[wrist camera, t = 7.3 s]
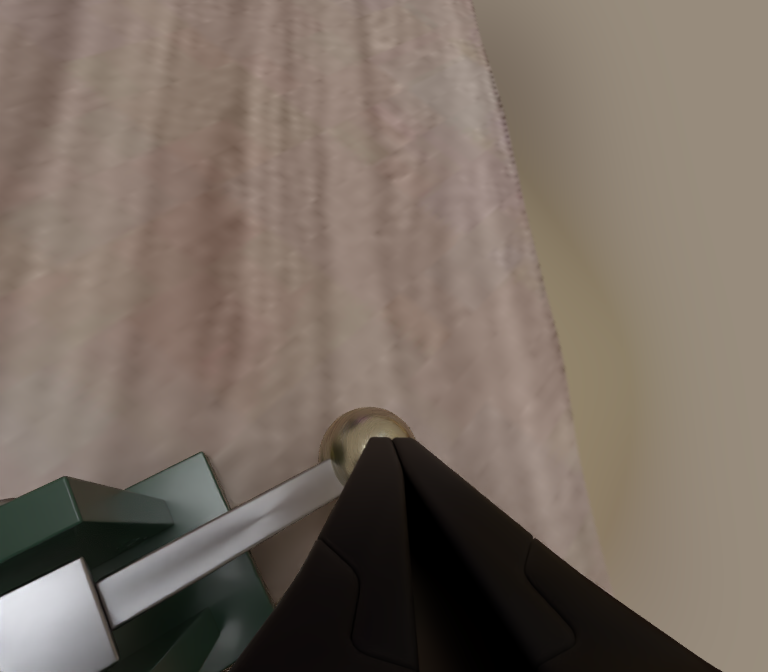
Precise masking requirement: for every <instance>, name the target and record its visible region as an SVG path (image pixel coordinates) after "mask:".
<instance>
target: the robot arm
mask: <svg viewBox="0 0 768 672" xmlns="http://www.w3.org/2000/svg"><path fill="white" fill-rule="evenodd" d="M228 672H722V671H721V670H719V669H717V668H715V667H714V666H712V665H711V664H709V663H707V662H706V661H704V660H703V659H701V658H700V657H698V656H697V655H695V654H694V653H693V652H691V651H690V650H688V649H687V648H685V647H684V646H683V645H681V644H680V643H678V642H677V641H675V640H674V639H673V638H671V637H670V636H668V635H667V634H665V633H664V632H662V631H661V630H660V629H658V628H657V627H655V626H654V625H652V624H651V623H650V622H648V621H646V620H645V619H644V618H642V617H641V616H640V615H638V614H637V613H635V612H634V611H632V610H631V609H629V608H628V607H627V606H625V605H624V604H622V603H621V602H619V601H618V600H617V599H615V598H614V597H612V596H611V595H610V594H608V593H607V592H605V591H604V590H603V589H601V588H600V587H598V586H597V585H596V584H594V583H593V582H592V581H590V580H589V579H587V578H586V577H585V576H583V575H582V574H580V573H579V572H578V571H577V570H575V569H574V568H573V567H571V566H570V565H569V564H568V563H566V562H565V561H564V560H563V559H561V558H560V557H559V556H557V555H556V554H555V553H554V552H552V551H551V550H550V549H549V548H547V547H546V546H545V545H544V544H543V543H541V542H540V541H539V540H538V539H536V538H534V539H533V536H532V535H531V534H530V533H529V532H528V531H526V530H525V529H524V528H523V527H521V526H520V525H519V524H518V523H517V522H515V521H514V520H513V519H512V518H510V517H509V516H508V515H507V514H506V513H504V512H503V511H502V510H501V509H499V508H498V507H497V506H496V505H495V504H493V503H492V502H491V501H490V500H488V499H487V498H486V497H485V496H484V495H482V494H481V493H480V492H479V491H477V490H476V489H475V488H474V487H473V486H471V485H470V484H469V483H468V482H466V481H465V480H464V479H463V478H462V477H460V476H459V475H458V474H457V473H455V472H454V471H453V470H452V469H450V468H449V467H448V466H447V465H446V464H444V463H443V462H442V461H441V460H439V459H438V458H437V457H436V456H435V455H433V454H432V453H431V452H430V451H428V450H427V449H426V448H425V447H424V446H422V445H421V444H420V443H419V442H417V441H416V440H415V439H413V438H406V437H395V438H393V439H392V440H391V438H389V437H371V438H370V439H369V440H368V442H367V444H366V446H365V448H364V450H363V452H362V454H361V456H360V457H359V459H358V461H357V463H356V465H355V467H354V469H353V471H352V473H351V475H350V477H349V479H348V481H347V482H346V484H345V486H344V488H343V490H342V492H341V494H340V496H339V498H338V500H337V502H336V504H335V506H334V507H333V509H332V511H331V513H330V515H329V517H328V519H327V521H326V523H325V525H324V527H323V529H322V531H321V532H320V534H319V536H318V539H317V541H316V542H315V543H314V545H313V547H312V549H311V551H310V553H309V555H308V557H307V559H306V560H305V562H304V564H303V565H302V567H301V569H300V571H299V572H298V574H297V576H296V578H295V579H294V581H293V582H292V584H291V585H290V587H289V588H288V590H287V591H286V593H285V594H284V596H283V597H282V599H281V600H280V601H279V603H278V604H277V606H276V607H275V609H274V610H273V611H272V613H271V614H270V615H269V617H268V618H267V620H266V621H265V622H264V624H263V625H262V626H261V628H260V629H259V630H258V632H257V633H256V635H255V636H254V637H253V639H252V640H251V641H250V643H249V644H248V645H247V647H246V648H245V649H244V651H243V652H242V654H241V655H240V656H239V658H238V659H237V660H236V662H235V663H234V664H233V666H232V667H231V669H230V670H229V671H228Z"/></svg>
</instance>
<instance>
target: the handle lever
mask: <svg viewBox="0 0 768 672" xmlns="http://www.w3.org/2000/svg"><path fill="white" fill-rule="evenodd" d="M371 437H389V438H391V440H392V439H393V438H395V437H406V438H413V439H415V437H414V435H413V433H412V431H411V430H410V428H409V427H408V426H407V424H406V423H405V422H404V421H403V420H402V419H400V418H399V417H398V416H397V415H395V414H393V413H392V412H389V411H387V410H384V409H381V408H376V407H364V408H358V409H354V410H352V411H349V412H347V413H345V414H343V415H342V416H340V417H339V418H338V419H336V420H335V421H334V422H333V423H332V424H331V426H330V427H329V428H328V430H327V431H326V433H325V435H324V437H323V439H322V442H321V445H320V449H319V457H318V462H319V463H318V464H317V465H315V466H313V467H311V468H309V469H307V470H305V471H303V472H301V473H300V474H298V475H296V476H294V477H292V478H290V479H288V480H286V481H284V482H282V483H281V484H279V485H277V486H275V487H273V488H271V489H269V490H267V491H265V492H264V493H262V494H260V495H258V496H256V497H254V498H252V499H250V500H248V501H247V502H245V503H243V504H241V505H239V506H237V507H235V508H233V509H231V510H229V511H228V512H226V513H224V514H222V515H220V516H218V517H216V518H214V519H212V520H211V521H209V522H207V523H205V524H203V525H201V526H199V527H197V528H195V529H194V530H192V531H190V532H188V533H186V534H184V535H182V536H180V537H178V538H176V539H175V540H173V541H171V542H169V543H167V544H165V545H163V546H161V547H159V548H158V549H156V550H154V551H152V552H150V553H148V554H146V555H144V556H142V557H141V558H139V559H137V560H135V561H133V562H131V563H129V564H127V565H125V566H123V567H122V568H120V569H118V570H116V571H114V572H112V573H110V574H108V575H106V576H105V577H103V578H101V579H99V580H97V581H96V582H94V579H93V576H92V574H91V571H90V568H89V566H88V565H87V563H86V561H85V559H84V558H83V557H82V556H79V557H76V558H74V559H72V560H70V561H68V562H66V563H64V564H62V565H60V566H58V567H56V568H54V569H52V570H50V571H48V572H46V573H44V574H42V575H40V576H38V577H36V578H34V579H32V580H30V581H27V582H25V583H23V584H21V585H19V586H17V587H15V588H13V589H11V590H9V591H7V592H5V593H3V594H1V595H0V672H105V671H106V670H108V669H109V668H111V667H113V666H114V665H116V664H117V663H118V662H119V657H120V651H119V649H118V646H117V643H116V640H115V637H114V635H113V632H112V631H113V630H117V629H118V628H120V627H122V626H124V625H125V624H127V623H129V622H130V621H132V620H134V619H135V618H137V617H139V616H140V615H142V614H144V613H145V612H147V611H149V610H150V609H152V608H154V607H155V606H157V605H159V604H160V603H162V602H164V601H165V600H167V599H169V598H170V597H172V596H174V595H175V594H177V593H179V592H180V591H182V590H184V589H185V588H187V587H189V586H190V585H192V584H194V583H195V582H197V581H199V580H200V579H202V578H204V577H205V576H207V575H209V574H210V573H212V572H214V571H215V570H217V569H219V568H220V567H222V566H224V565H225V564H227V563H229V562H230V561H232V560H234V559H235V558H237V557H239V556H240V555H242V554H244V553H245V552H247V551H249V550H250V549H252V548H254V547H255V546H257V545H259V544H260V543H262V542H264V541H265V540H267V539H269V538H270V537H272V536H274V535H275V534H277V533H279V532H280V531H282V530H284V529H285V528H287V527H289V526H290V525H292V524H294V523H295V522H297V521H299V520H300V519H302V518H304V517H306V516H307V515H309V514H311V513H312V512H314V511H316V510H317V509H319V508H321V507H322V506H324V505H326V504H327V503H329V502H331V501H332V500H334V499H336V500H338V498H339V496H340V494H341V492H342V490H343V488H344V486H345V484H346V482H347V481H348V479H349V477H350V475H351V473H352V471H353V469H354V467H355V465H356V463H357V461H358V459H359V457H360V456H361V454H362V452H363V450H364V448H365V446H366V444H367V442H368V440H369V439H370V438H371Z"/></svg>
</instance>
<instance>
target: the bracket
mask: <svg viewBox="0 0 768 672" xmlns="http://www.w3.org/2000/svg"><path fill="white" fill-rule="evenodd" d="M229 510H231V508H230V506H229V503H228V501H227V499H226V497H225V494H224V492H223V490H222V488H221V486H220V483H219V481H218V479H217V477H216V474H215V472H214V470H213V468H212V466H211V463H210V461H209V459H208V457H207V456H206V455H205V454H204V453H203V452H199V453H197V454H195V455H193V456H191V457H189V458H187V459H185V460H183V461H181V462H179V463H177V464H175V465H173V466H171V467H169V468H167V469H165V470H163V471H161V472H159V473H157V474H155V475H153V476H151V477H149V478H147V479H145V480H143V481H141V482H139V483H137V484H135V485H133V486H131V487H129V488H127V489H125V490H122V489H117V488H113V487H109V486H105V485H101V484H97V483H92V482H88V481H84V480H80V479H76V478H72V477H67V476H63V477H61V478H59V479H57V480H55V481H52V482H50V483H48V484H46V485H44V486H42V487H40V488H37V489H35V490H33V491H31V492H29V493H27V494H24V495H22V496H20V497H18V498H9V499H3V500H0V595H1V594H3V593H5V592H7V591H9V590H11V589H13V588H15V587H17V586H19V585H21V584H23V583H25V582H27V581H30V580H32V579H34V578H36V577H38V576H40V575H42V574H44V573H46V572H48V571H50V570H52V569H54V568H56V567H58V566H60V565H62V564H64V563H66V562H68V561H70V560H72V559H74V558H76V557H79V556H82V557H83V558H84V559H85V561H86V563H87V565H88V566H89V568H90V571H91V574H92V576H93V579H94V582H96V581H97V580H99V579H101V578H103V577H105V576H106V575H108V574H110V573H112V572H114V571H116V570H118V569H120V568H122V567H123V566H125V565H127V564H129V563H131V562H133V561H135V560H137V559H139V558H141V557H142V556H144V555H146V554H148V553H150V552H152V551H154V550H156V549H158V548H159V547H161V546H163V545H165V544H167V543H169V542H171V541H173V540H175V539H176V538H178V537H180V536H182V535H184V534H186V533H188V532H190V531H192V530H194V529H195V528H197V527H199V526H201V525H203V524H205V523H207V522H209V521H211V520H212V519H214V518H216V517H218V516H220V515H222V514H224V513H226V512H228V511H229ZM274 609H275V605H274V603H273V601H272V599H271V596H270V594H269V592H268V590H267V588H266V585H265V583H264V581H263V579H262V576H261V574H260V572H259V570H258V568H257V565H256V563H255V561H254V559H253V557H252V554H251V552H250V550H249V551H247V552H245V553H244V554H242V555H240V556H239V557H237V558H235V559H234V560H232V561H230V562H229V563H227V564H225V565H224V566H222V567H220V568H219V569H217V570H215V571H214V572H212V573H210V574H209V575H207V576H205V577H204V578H202V579H200V580H199V581H197V582H195V583H194V584H192V585H190V586H189V587H187V588H185V589H184V590H182V591H180V592H179V593H177V594H175V595H174V596H172V597H170V598H169V599H167V600H165V601H164V602H162V603H160V604H159V605H157V606H155V607H154V608H152V609H150V610H149V611H147V612H145V613H144V614H142V615H140V616H139V617H137V618H135V619H134V620H132V621H130V622H129V623H127V624H125V625H124V626H122V627H120V628H118V629H117V630H113V631H112V632H113V635H114V637H115V640H116V643H117V646H118V649H119V651H120V657H119V662H118V663H117V664H116V665H114V666H113V667H111V668H109V669H108V670H106V671H105V672H222V671H223V670H225V669H226V668H228V667H229V666H231V665H232V664H234V663H235V662H236V660H237V659H238V658H239V656H240V655H241V654H242V652H243V651H244V649H245V648H246V647H247V645H248V644H249V643H250V641H251V640H252V639H253V637H254V636H255V635H256V633H257V632H258V630H259V629H260V628H261V626H262V625H263V624H264V622H265V621H266V620H267V618H268V617H269V615H270V614H271V613H272V611H273V610H274Z"/></svg>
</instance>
